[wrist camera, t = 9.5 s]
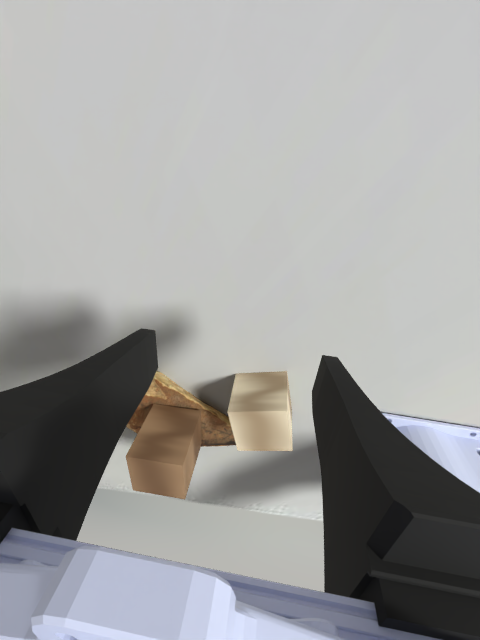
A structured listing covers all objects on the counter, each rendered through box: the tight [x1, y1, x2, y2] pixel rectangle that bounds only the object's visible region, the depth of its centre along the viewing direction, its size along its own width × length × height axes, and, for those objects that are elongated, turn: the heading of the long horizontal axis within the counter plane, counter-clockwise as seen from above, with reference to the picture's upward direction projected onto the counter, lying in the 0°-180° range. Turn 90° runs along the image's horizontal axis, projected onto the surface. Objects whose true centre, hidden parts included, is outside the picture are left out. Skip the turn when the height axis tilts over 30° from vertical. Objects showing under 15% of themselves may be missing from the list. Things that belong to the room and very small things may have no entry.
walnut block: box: [126, 404, 202, 499], centre depth 26 cm, size 4×4×6 cm
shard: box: [126, 371, 236, 447], centre depth 30 cm, size 13×9×2 cm
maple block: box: [228, 371, 293, 451], centre depth 25 cm, size 4×4×4 cm
